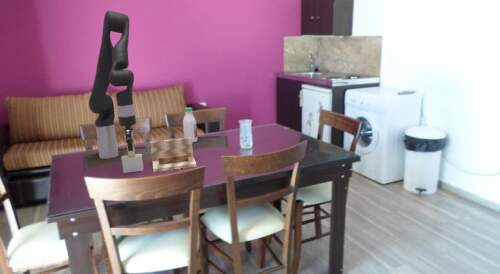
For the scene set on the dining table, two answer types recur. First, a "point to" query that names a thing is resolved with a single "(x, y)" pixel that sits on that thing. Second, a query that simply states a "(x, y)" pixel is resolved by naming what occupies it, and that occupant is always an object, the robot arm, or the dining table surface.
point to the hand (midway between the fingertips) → (131, 148)
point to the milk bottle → (189, 125)
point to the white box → (132, 161)
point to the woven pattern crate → (172, 154)
